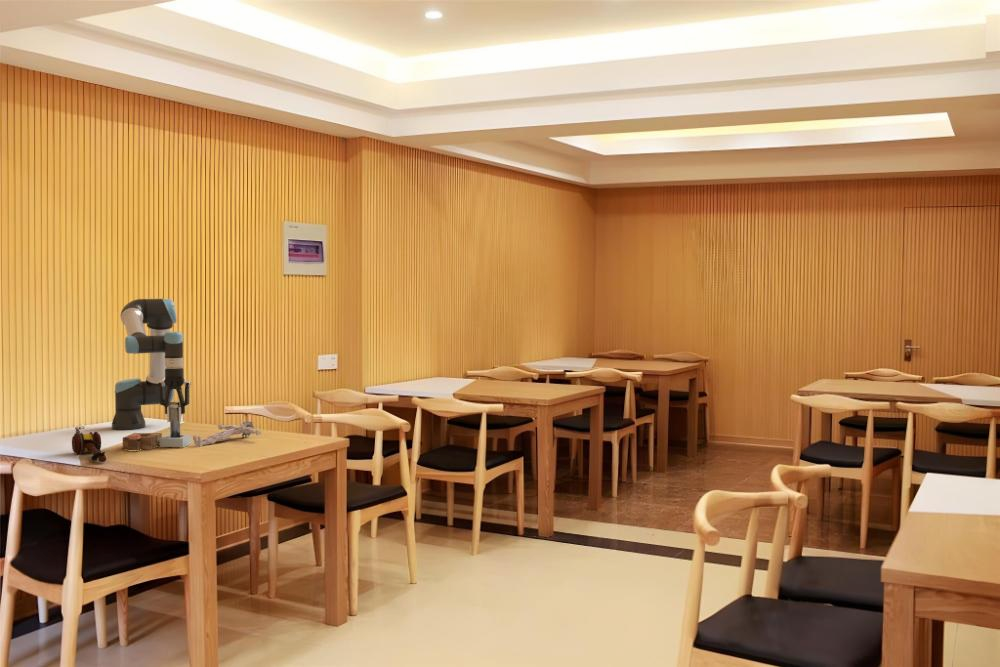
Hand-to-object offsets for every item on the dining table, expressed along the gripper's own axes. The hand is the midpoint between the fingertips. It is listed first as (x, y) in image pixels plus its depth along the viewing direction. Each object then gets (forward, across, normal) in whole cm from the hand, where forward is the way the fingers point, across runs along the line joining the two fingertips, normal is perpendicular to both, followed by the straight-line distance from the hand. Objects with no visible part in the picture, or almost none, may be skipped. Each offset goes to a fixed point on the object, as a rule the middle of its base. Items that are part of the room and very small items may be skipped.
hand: (175, 421), depth 385 cm
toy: (+11, +18, +11) cm, 24 cm away
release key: (+10, -13, -11) cm, 19 cm away
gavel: (+11, -24, -25) cm, 37 cm away
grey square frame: (+11, 0, 0) cm, 11 cm away
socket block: (+11, -13, -5) cm, 17 cm away
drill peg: (+7, 0, 0) cm, 7 cm away
